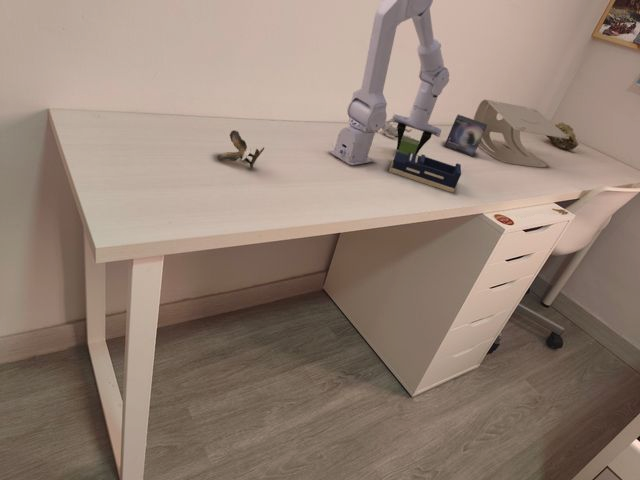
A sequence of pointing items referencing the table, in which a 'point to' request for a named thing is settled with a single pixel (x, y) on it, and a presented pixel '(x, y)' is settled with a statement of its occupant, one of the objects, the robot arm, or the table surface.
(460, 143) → the small box
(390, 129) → the soldier figure
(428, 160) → the navy slotted organizer
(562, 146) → the mineral specimen
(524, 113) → the laptop stand
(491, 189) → the table surface
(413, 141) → the green cube
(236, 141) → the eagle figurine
